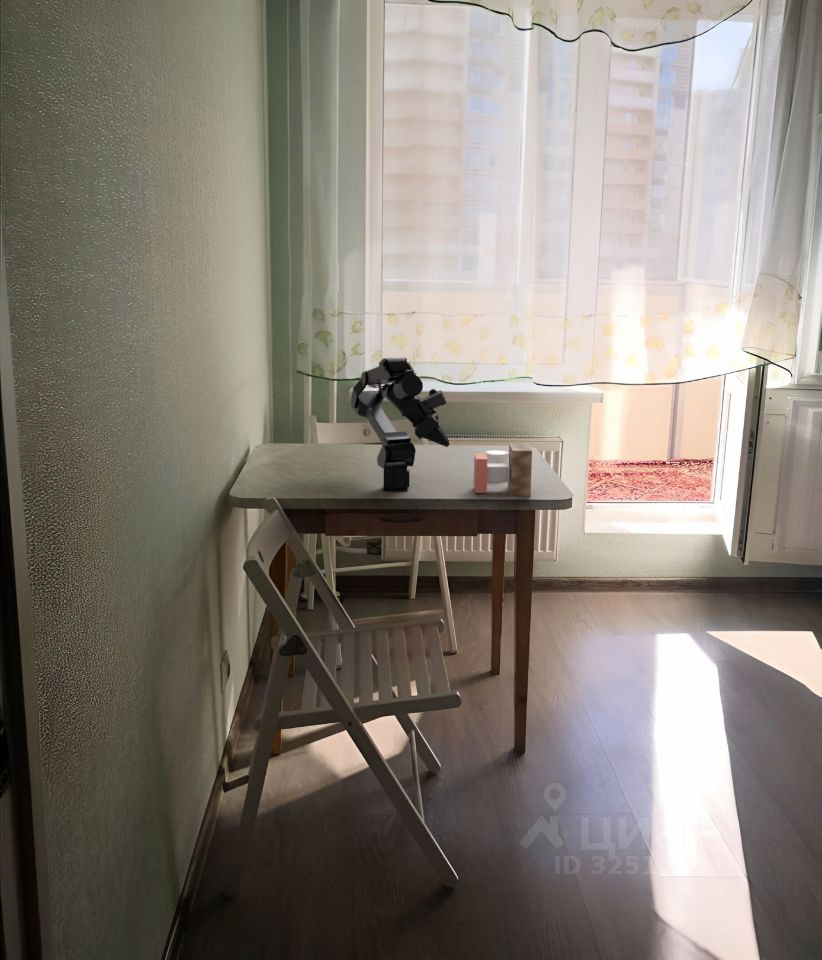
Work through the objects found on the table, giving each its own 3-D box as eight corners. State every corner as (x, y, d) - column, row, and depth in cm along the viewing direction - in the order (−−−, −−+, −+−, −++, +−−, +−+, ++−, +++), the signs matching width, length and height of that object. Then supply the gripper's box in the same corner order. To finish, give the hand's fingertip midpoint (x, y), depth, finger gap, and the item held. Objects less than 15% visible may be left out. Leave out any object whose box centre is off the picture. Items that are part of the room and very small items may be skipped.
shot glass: (482, 473, 264) (482, 449, 262) (506, 473, 264) (506, 449, 263) (485, 479, 257) (486, 454, 256) (510, 478, 258) (510, 454, 256)
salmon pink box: (475, 492, 241) (475, 459, 239) (473, 486, 248) (474, 453, 246) (509, 492, 241) (510, 459, 239) (507, 486, 248) (508, 453, 245)
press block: (511, 495, 239) (512, 450, 237) (507, 486, 249) (509, 442, 246) (530, 496, 239) (532, 450, 237) (526, 486, 249) (527, 443, 246)
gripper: (428, 385, 229) (472, 429, 231) (428, 375, 247) (468, 416, 249) (396, 416, 231) (440, 460, 233) (398, 404, 249) (439, 445, 251)
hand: (448, 444), depth 242 cm, fingers open, 4 cm apart
